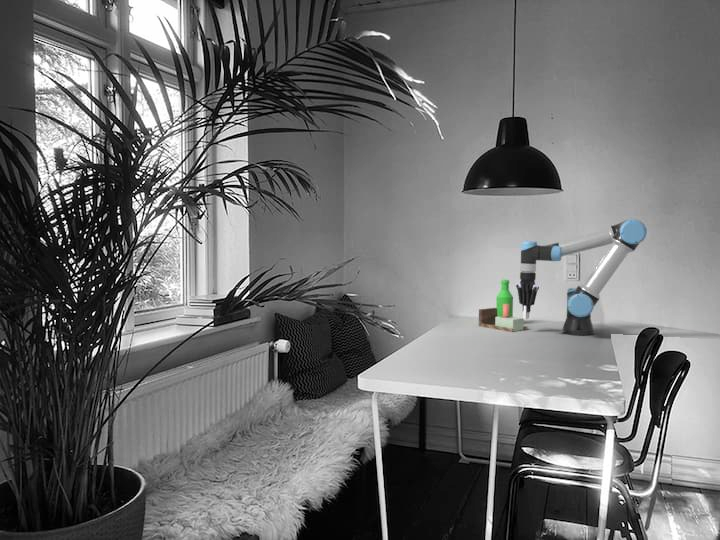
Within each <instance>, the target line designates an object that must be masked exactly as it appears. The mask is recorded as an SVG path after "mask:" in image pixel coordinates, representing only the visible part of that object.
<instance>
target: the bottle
mask: <svg viewBox="0 0 720 540" xmlns="http://www.w3.org/2000/svg"><path fill="white" fill-rule="evenodd" d="M500 284H501V288H500V291H499V293H498V294H497V296H496V305H495V306H496V307H495V308H497V317H499V316H503V304H510V306H509V316H511V317H514V316H513V315H514V314H513V313H514V311H513V310H514V296H513V295H512V292H510V290H509V288H510V287H509V286H510V285H509V284H510V279H501V282H500Z"/></svg>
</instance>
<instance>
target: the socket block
mask: <svg viewBox="0 0 720 540" xmlns="http://www.w3.org/2000/svg"><path fill="white" fill-rule="evenodd" d="M524 325H525V319H523V317H517V316H513V317H511V316H509V318H503V316H499V317H495V326H500V327H505V328H511V329H513V331H514V332H516V331H517V332H521V330H522V331H524V330H523V329H524Z"/></svg>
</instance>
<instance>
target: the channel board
mask: <svg viewBox="0 0 720 540" xmlns="http://www.w3.org/2000/svg"><path fill="white" fill-rule="evenodd" d="M495 317H497V308H496V307H490V308H489V307H488V308H482V309H479V308H478V327H482V328H488V329H493V330H498V331H503V332H508V333H515V332H518V331H513V329H511V328H505V327H500V326H495ZM521 331H529V330H528V326H524V329H523V330H520V332H521Z"/></svg>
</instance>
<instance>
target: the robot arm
mask: <svg viewBox="0 0 720 540" xmlns="http://www.w3.org/2000/svg"><path fill="white" fill-rule="evenodd" d="M647 234H648V231H647V227H646V224H644V222H642V221H641V220H639V219H637V218H631V219H626V220H623V221H622V222H619V223H617V224H614V225H610V226H609V228H608V229H607V228H606V229H603V230H599V231H595V232H593V233H588V234H585V235H581V236H577V237H573V238H570V239H566V240H562V241H559V242H555V243H551V244H547V245H539V244H538V242H537V241H536V240H535V241H531V240H530V241H529V240H527V241H526V240H523V241H522V242H521V247H520V268H519V269H520V273H519V279H520V282H519V284H516V285H515V286H516V289H517V295H518V303H519V304H520V305H522V312H523V316H522V318H523V319H524V320H528V319H530V313H531V309H532V307H531V306H534V305H535V301H536V297H537V293H538V290H539V289H540V287H539V286H537V285H536V282H535V281H536V277H537V275H536V271H537V261H541V262H542V261H545V262H546V261H547V262H560V261H561V260H562V257H565V256H570V255H573V254H577V253H582V252H585V251H589V250H592V249H597V248H600V247H604V246H608V245H610V247H609V248H608V249H607V250H606V252H605V253H604V254H603V256H602V257H601V259H600V260H599V262H598V263H597V265H596V266H595V267H594V268H593V270H592V271H591V273H590V274H589V276H588V277H587V279H586V280H585V282H584V283H582V284H578V286H577V287H571V288H568V289H567V293H566V296H567V297H566V318H565V321H564V324H563V327H562V333H563V334H566V335H573V336H593V335H594V334H595V330H594V326H593V322H592V319H591V317H592V316H591V314H592V312H593V310H594V307H595V306H596V304H597V303H598V302H599V300H600V299H601V297H600V294H601V292H602V291H603V289H604V288H605V286H606V285H607V284H608V282H610V279H611V278H612V276H614V274H615V272H616V271H617V270H618V268H619V267H620V265H621V264H622V263H623V261H624V260H625V259H626V257H627V256H628V254H630V253H633V252H635V250H636V249H637V247H638V246H639V245H640V243H642V242H643V241H644V240H645V239H646V237H647Z"/></svg>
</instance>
